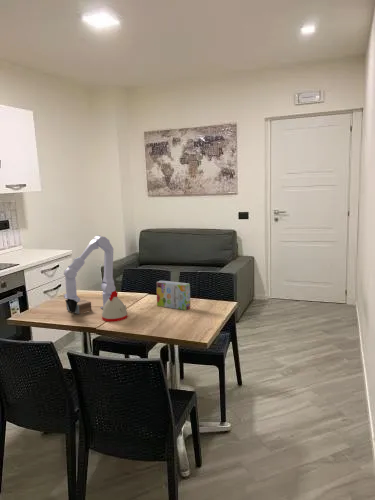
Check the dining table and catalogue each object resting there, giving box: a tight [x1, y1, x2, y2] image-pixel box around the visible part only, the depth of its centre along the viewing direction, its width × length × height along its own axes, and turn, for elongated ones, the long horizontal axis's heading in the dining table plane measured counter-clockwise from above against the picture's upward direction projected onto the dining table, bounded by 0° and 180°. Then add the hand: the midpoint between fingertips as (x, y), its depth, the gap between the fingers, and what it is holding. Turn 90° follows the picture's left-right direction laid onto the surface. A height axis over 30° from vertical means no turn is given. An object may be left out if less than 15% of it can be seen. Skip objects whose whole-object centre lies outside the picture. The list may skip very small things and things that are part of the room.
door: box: [65, 302, 80, 315], centre depth 238 cm, size 13×1×6 cm, turn 47°
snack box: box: [155, 280, 191, 311], centre depth 240 cm, size 21×6×15 cm, turn 58°
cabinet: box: [77, 298, 92, 315], centre depth 241 cm, size 12×8×5 cm, turn 46°
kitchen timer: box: [101, 290, 128, 323], centre depth 225 cm, size 14×14×15 cm
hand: (72, 311), depth 234 cm, fingers closed on door
